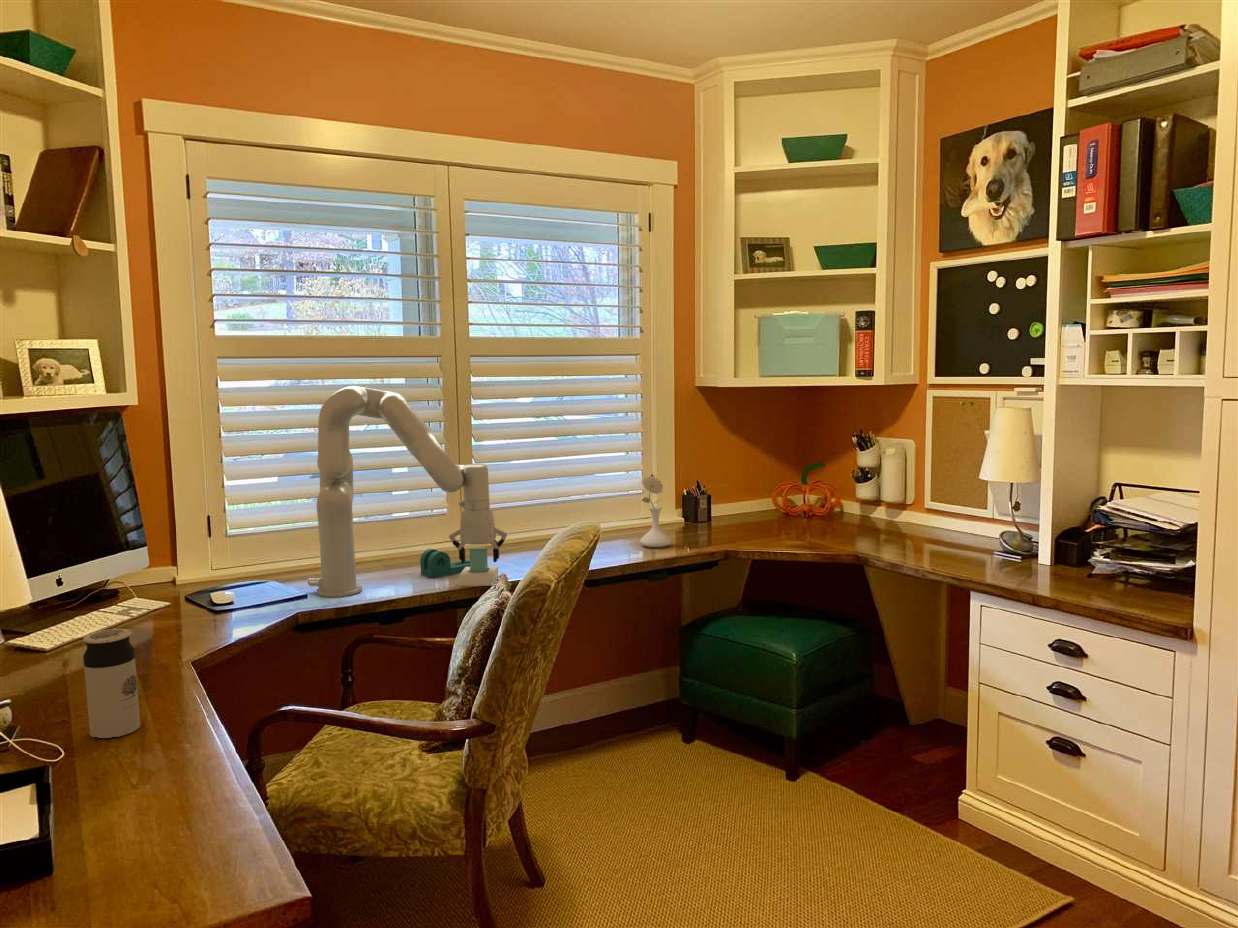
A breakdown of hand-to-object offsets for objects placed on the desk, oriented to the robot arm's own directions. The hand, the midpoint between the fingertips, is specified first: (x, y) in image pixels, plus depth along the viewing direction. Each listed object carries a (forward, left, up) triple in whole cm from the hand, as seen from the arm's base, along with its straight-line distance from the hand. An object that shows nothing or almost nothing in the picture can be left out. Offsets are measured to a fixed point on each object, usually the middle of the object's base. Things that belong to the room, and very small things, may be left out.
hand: (479, 561), depth 270 cm
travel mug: (-48, -109, -6) cm, 119 cm away
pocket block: (0, 0, -6) cm, 6 cm away
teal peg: (0, 0, -6) cm, 6 cm away
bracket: (-11, +14, -7) cm, 19 cm away
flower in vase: (+54, +49, -6) cm, 73 cm away
